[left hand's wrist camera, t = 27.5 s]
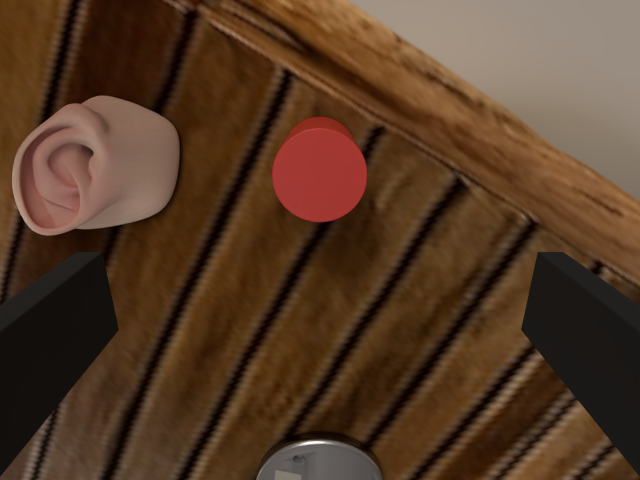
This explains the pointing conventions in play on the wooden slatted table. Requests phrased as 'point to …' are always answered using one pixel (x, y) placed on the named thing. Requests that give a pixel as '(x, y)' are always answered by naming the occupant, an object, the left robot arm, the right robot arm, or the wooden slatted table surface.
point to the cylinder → (319, 171)
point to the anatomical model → (95, 167)
